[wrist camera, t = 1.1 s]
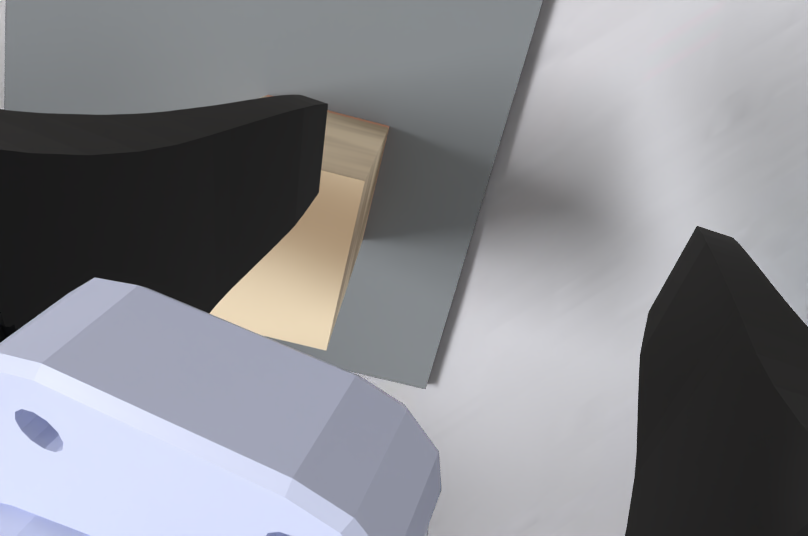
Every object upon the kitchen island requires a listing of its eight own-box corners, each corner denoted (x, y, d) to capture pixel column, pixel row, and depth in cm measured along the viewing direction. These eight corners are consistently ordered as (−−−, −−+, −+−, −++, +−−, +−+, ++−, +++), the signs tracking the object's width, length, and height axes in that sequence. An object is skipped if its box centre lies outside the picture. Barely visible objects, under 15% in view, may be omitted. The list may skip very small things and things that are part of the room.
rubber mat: (425, 383, 30) (425, 389, 29) (9, 284, 29) (2, 288, 28) (545, -16, 23) (548, -17, 23) (16, -160, 22) (7, -164, 22)
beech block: (362, 239, 27) (326, 350, 17) (249, 211, 27) (150, 308, 17) (389, 126, 25) (364, 181, 16) (268, 94, 25) (169, 132, 15)
